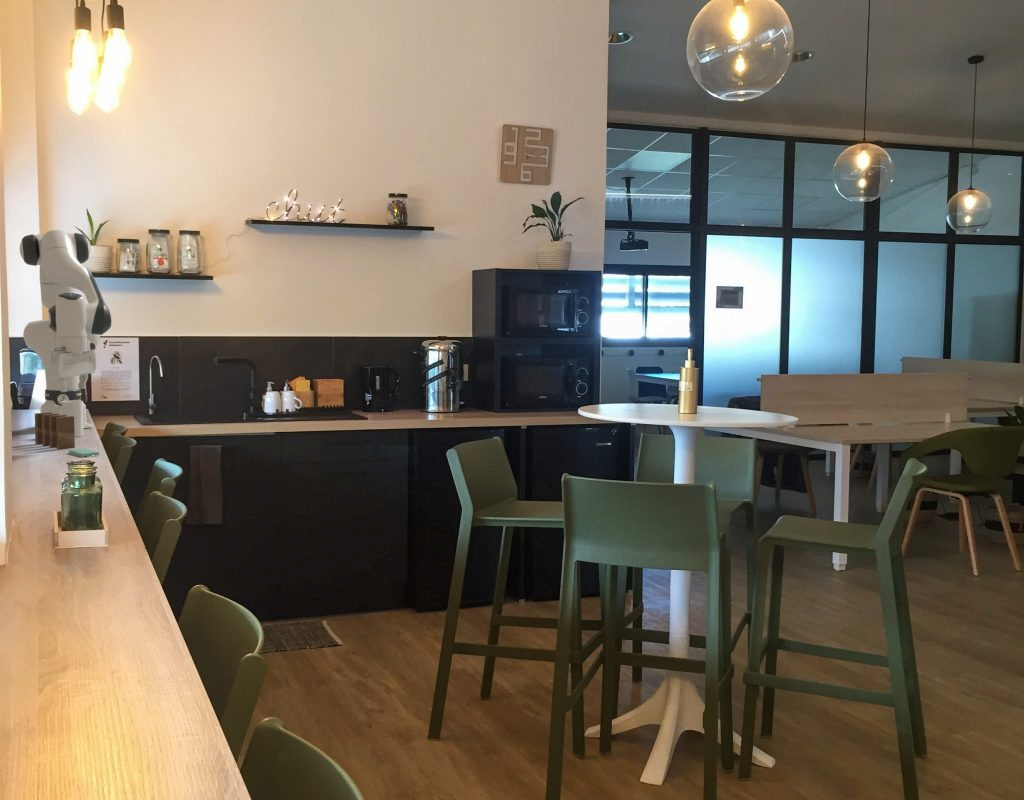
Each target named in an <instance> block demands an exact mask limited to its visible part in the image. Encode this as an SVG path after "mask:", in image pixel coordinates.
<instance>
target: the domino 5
mask: <svg viewBox="0 0 1024 800" xmlns="http://www.w3.org/2000/svg"><path fill="white" fill-rule="evenodd" d="M68 454H69V455H73V456H76V457H79V456H81V457H80V458H85V457H84V456H92V455H99V456H100V451H96V450H92V449H88V448H85V447H83V448H71V449H68Z"/></svg>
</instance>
